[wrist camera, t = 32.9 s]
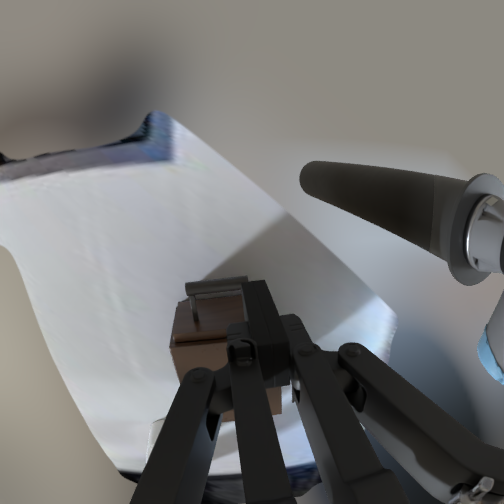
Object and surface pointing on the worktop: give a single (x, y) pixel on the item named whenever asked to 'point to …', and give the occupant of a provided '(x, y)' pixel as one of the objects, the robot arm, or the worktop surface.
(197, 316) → the drawer
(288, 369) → the robot arm
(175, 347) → the cabinet
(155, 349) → the worktop surface
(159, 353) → the worktop surface
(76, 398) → the worktop surface
